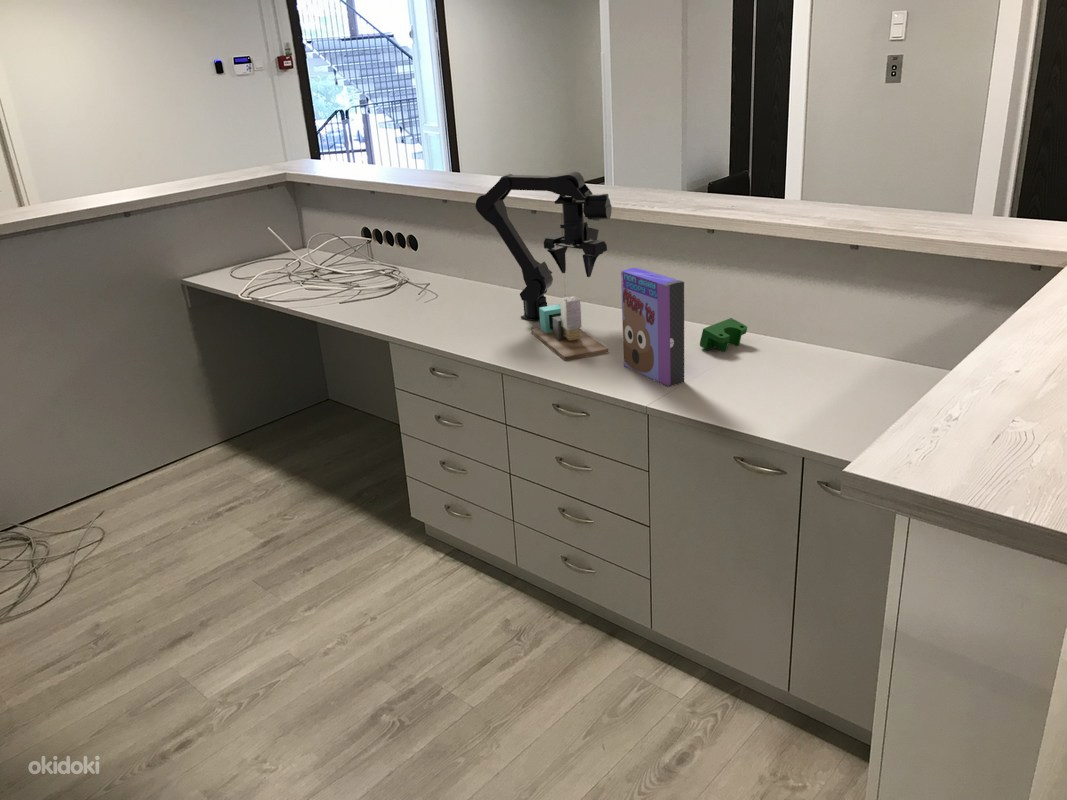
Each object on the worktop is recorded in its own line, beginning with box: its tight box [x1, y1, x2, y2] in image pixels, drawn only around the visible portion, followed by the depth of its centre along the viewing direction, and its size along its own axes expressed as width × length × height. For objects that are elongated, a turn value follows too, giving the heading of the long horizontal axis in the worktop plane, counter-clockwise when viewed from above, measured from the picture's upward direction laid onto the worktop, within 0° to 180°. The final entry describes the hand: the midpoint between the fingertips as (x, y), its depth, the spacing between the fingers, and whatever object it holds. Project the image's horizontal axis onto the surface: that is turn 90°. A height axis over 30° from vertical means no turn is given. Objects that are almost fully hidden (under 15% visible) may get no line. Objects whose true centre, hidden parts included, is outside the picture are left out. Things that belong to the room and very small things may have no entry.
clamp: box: [699, 317, 748, 353], centre depth 221 cm, size 12×6×9 cm, turn 124°
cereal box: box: [620, 267, 685, 388], centre depth 204 cm, size 17×5×24 cm, turn 29°
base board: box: [530, 327, 610, 362], centre depth 233 cm, size 26×12×1 cm, turn 20°
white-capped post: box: [549, 295, 582, 341], centre depth 233 cm, size 16×4×10 cm, turn 20°
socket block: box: [539, 303, 561, 333], centre depth 240 cm, size 4×7×6 cm, turn 110°
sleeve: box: [553, 316, 567, 341], centre depth 233 cm, size 4×5×5 cm
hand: (576, 274), depth 247 cm, fingers open, 9 cm apart
